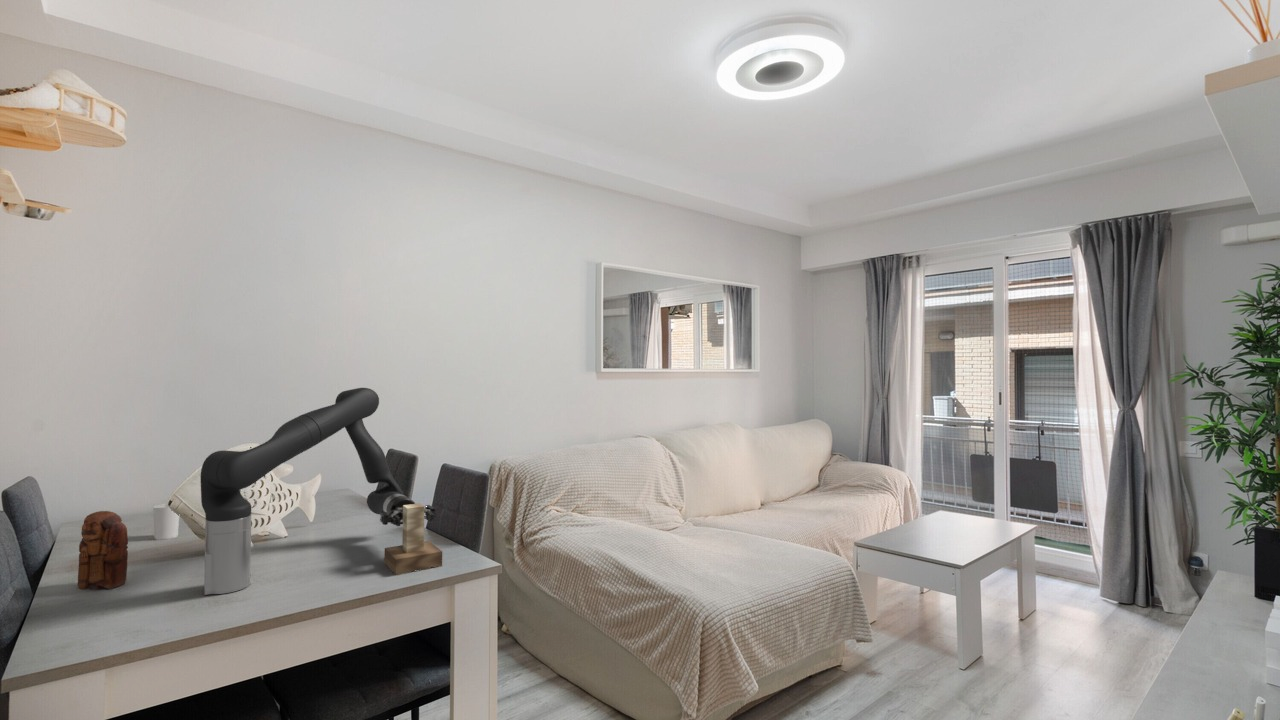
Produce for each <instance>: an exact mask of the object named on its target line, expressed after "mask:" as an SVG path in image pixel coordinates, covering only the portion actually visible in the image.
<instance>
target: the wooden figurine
mask: <svg viewBox="0 0 1280 720" xmlns="http://www.w3.org/2000/svg"><path fill="white" fill-rule="evenodd" d="M122 521H123V520H122V518H121V516H120V515H118V514H117V513H115V512H113V511H110V510H100V511H95V512H92V513H90V514H88V515H86V517H85V518H84V520H83V524H82V525H81V531H80V532H81V533H80V535H81V537H82V538H81V541H80V543H79V545H78V551H79V555H78V568H77V569H78V570H77V571H78V572H77V588H78V589H79V590H101V589H115V588H117V587H119V586H122V585H124V584H126V582H127V573H128V557H129V553H128V549H129V547H128V544H129V537H128V536H129V535H128V527H127V525H126V524H124V523H123V522H122Z"/></svg>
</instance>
